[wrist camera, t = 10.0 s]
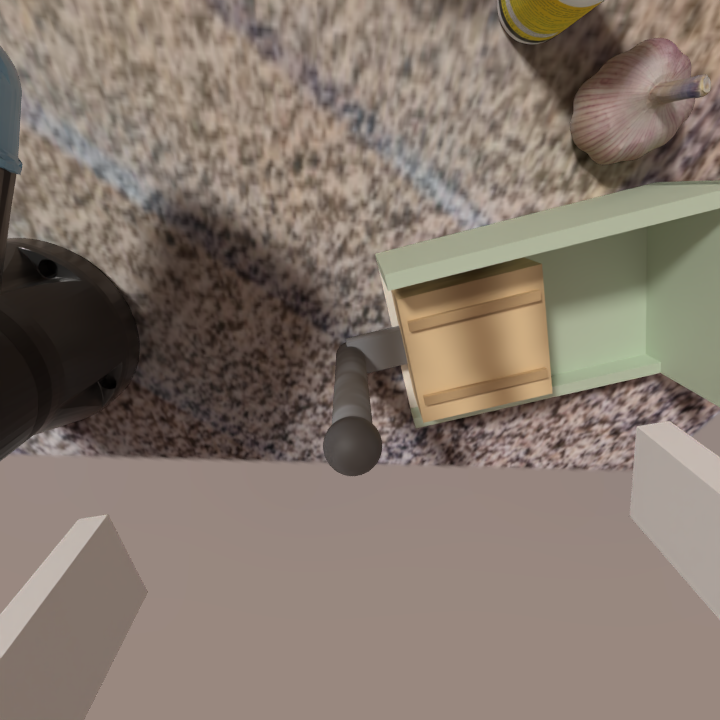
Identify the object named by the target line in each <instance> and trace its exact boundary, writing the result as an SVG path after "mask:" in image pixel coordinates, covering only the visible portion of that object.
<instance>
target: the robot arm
mask: <svg viewBox="0 0 720 720" xmlns="http://www.w3.org/2000/svg"><path fill="white" fill-rule="evenodd" d="M21 96H22V90H21V83H20V79H19V76H18V73H17V71H16V68H15V66H14V64H13V63H12V61H11V59H10V58H9V56H8V55H7V54H6V52H5V51H4V50H3V48H2V47H1V46H0V461H1V460H2V459H3V458H5V457H6V456H7V455H9V454H10V453H11V452H13V451H14V450H15V449H16V448H18V447H19V446H20V445H21V444H23V443H24V442H25V441H26V440H28V439H29V438H30V437H32V436H33V435H36V434H39V433H42V432H45V431H48V430H51V429H55V428H58V427H61V426H64V425H67V424H70V423H73V422H76V421H79V420H82V419H85V418H87V417H89V416H91V415H93V414H95V413H97V412H99V411H100V410H102V409H103V408H104V407H106V406H107V405H108V404H109V403H110V402H112V401H113V400H114V399H115V398H116V397H117V396H118V395H119V394H120V393H121V392H122V391H123V390H124V389H125V388H126V387H127V385H128V384H129V383H130V381H131V379H132V377H133V375H134V373H135V370H136V367H137V363H138V358H139V337H138V331H137V327H136V323H135V321H134V318H133V315H132V313H131V311H130V309H129V307H128V305H127V303H126V301H125V300H124V298H123V296H122V295H121V293H120V292H119V291H118V289H117V288H116V287H115V286H114V284H113V283H112V282H111V281H110V280H109V279H108V278H107V277H106V276H105V275H104V274H103V273H102V272H101V271H100V270H99V269H97V268H96V267H95V266H94V265H92V264H91V263H90V262H88V261H87V260H85V259H84V258H82V257H80V256H79V255H77V254H75V253H73V252H71V251H69V250H67V249H65V248H63V247H60V246H57V245H55V244H52V243H48V242H44V241H40V240H35V239H26V238H9V239H7V236H8V228H9V220H10V212H11V206H12V199H13V193H14V186H15V180H16V174H20V175H21V170H22V163H21V161H20V160H19V158H18V149H19V131H20V113H21ZM630 517H631V518H632V519H633V521H634V522H635V523H636V524H637V525H638V526H639V528H640V529H641V530H642V531H643V532H644V533H645V535H646V536H647V537H648V538H649V539H650V540H651V541H652V542H653V544H654V545H655V546H656V547H657V548H658V550H659V551H660V552H661V553H662V554H663V555H664V556H665V558H666V559H667V560H668V561H669V562H670V563H671V564H672V566H673V567H674V568H675V569H676V570H677V571H678V572H679V574H680V575H681V576H682V577H683V578H684V579H685V581H686V582H687V583H688V584H689V585H690V586H691V587H692V589H693V590H694V591H695V592H696V593H697V594H698V595H699V597H700V598H701V599H702V600H703V601H704V602H705V604H706V605H707V606H708V607H709V608H710V609H711V611H712V612H713V613H714V614H715V615H716V616H717V617H718V619H719V620H720V457H719V456H717V455H716V454H714V453H713V452H712V451H710V450H709V449H708V448H706V447H705V446H703V445H702V444H701V443H699V442H698V441H696V440H695V439H694V438H692V437H691V436H689V435H688V434H687V433H685V432H684V431H682V430H681V429H680V428H678V427H677V426H675V425H674V424H673V423H671V422H670V421H667V422H661V423H655V424H649V425H643V426H637V429H636V441H635V454H634V467H633V479H632V492H631V505H630ZM147 592H148V591H147V589H146V587H145V586H144V584H143V582H142V580H141V578H140V576H139V574H138V572H137V570H136V568H135V566H134V564H133V562H132V560H131V558H130V557H129V555H128V553H127V551H126V549H125V547H124V545H123V543H122V541H121V539H120V537H119V535H118V533H117V532H116V529H115V527H114V526H113V523H112V522H111V520H110V518H109V516H108V514H107V515H101V516H95V517H89V518H83V519H78V521H77V522H76V523H75V524H74V525H73V527H72V528H71V529H70V530H69V531H68V533H67V534H66V535H65V536H64V538H63V539H62V540H61V541H60V543H59V544H58V545H57V546H56V547H55V549H54V550H53V551H52V552H51V553H50V555H49V556H48V557H47V558H46V560H45V561H44V562H43V563H42V564H41V566H40V567H39V568H38V569H37V570H36V572H35V573H34V574H33V575H32V577H31V578H30V579H29V580H28V582H27V583H26V584H25V585H24V586H23V588H22V589H21V590H20V591H19V592H18V594H17V595H16V596H15V597H14V598H13V600H12V601H11V602H10V603H9V605H8V606H7V607H6V608H5V609H4V611H3V612H2V613H1V614H0V720H84V719H85V717H86V715H87V713H88V711H89V709H90V707H91V705H92V703H93V701H94V699H95V697H96V695H97V693H98V691H99V689H100V687H101V685H102V683H103V681H104V679H105V677H106V675H107V673H108V671H109V669H110V667H111V665H112V662H113V661H114V659H115V657H116V655H117V653H118V651H119V649H120V647H121V645H122V643H123V641H124V639H125V637H126V635H127V633H128V631H129V629H130V627H131V625H132V623H133V621H134V619H135V617H136V615H137V613H138V610H139V609H140V607H141V605H142V603H143V601H144V599H145V597H146V595H147Z"/></svg>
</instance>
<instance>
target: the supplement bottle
mask: <svg viewBox="0 0 720 720" xmlns="http://www.w3.org/2000/svg"><path fill="white" fill-rule="evenodd" d="M603 1H604V0H497V10H498V16H499V19H500V22H501V24H502V26H503V28H504V29H505V31H506V32H507V33H508V34H509V35H510V36H511V37H512V38H513V39H515V40H516V41H518V42H521V43H524V44H539V43H543V42H546V41H548V40H550V39H552V38H554V37H555V36H557V35H558V34H560V33H561V32H562V31H564V30H565V29H566V28H568V27H569V26H570V25H572V24H573V23H575V22H576V21H577V20H578V19H580V18H581V17H583V16H584V15H585V14H587V13H588V12H589V11H590V10H592V9H593V8H595V7H596V6H597V5H599V4H600V3H602V2H603Z"/></svg>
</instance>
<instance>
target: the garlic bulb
mask: <svg viewBox="0 0 720 720" xmlns="http://www.w3.org/2000/svg"><path fill="white" fill-rule="evenodd" d="M710 89H711V82H710V78H709V77H708V75H699V76H694V77H691V62H690V59H689V58H688V56H686V55H685V54H683V53H682V52H681V51H680V50H679V49H678V47H677V46H676V44H674V43H673V42H672V41H670V40H668V39H664V38H654V39H649V40H645V41H643V42H641V43H639V44H637V45H636V46H635V47H634V48H632V49H631V50H629V51H627V52H625V53H622V54H619V55H616V56H614V57H613V58H611V59H610V60H608V61H607V62H606V63H605V64H604V65H603V66H602V67H601V68H600V70H599V71H598V72H597V73H596V74H595V75H594V76H593V77H591V78H590V79H589V80H587V81H586V82H585V83H584V84H583V85H582V86H581V87H580V89H579V90H578V92H577V93H576V96H575V98H574V102H573V107H574V110H573V116H572V119H571V123H570V131H571V134H572V138H573V141H574V143H575V144H576V146H577V147H578V148H579V149H580V150H583V151H585V152H586V153H588V154H589V156H590V158H591V159H592V160H593V161H594V162H596V163H598V164H603V165H609V164H613V163H616V162H619V161H631V160H635V159H638V158H640V157H642V156H643V155H645V154H646V153H647V152H649V151H650V150H652V149H655V148H658V147H660V146H662V145H664V144H666V143H667V142H668V141H669V140H670V139H671V138H672V137H673V136H674V135H675V133H676V132H677V130H678V128H679V127H680V125H681V124H682V123H683V122H684V121H685V120H686V119H687V118H688V117H689V115H690V114H691V112H692V110H693V107H694V103H695V98H699V97H702V96H705V95H707V94H708V93H709V91H710Z"/></svg>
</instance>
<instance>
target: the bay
mask: <svg viewBox="0 0 720 720" xmlns="http://www.w3.org/2000/svg"><path fill="white" fill-rule="evenodd" d="M375 256H376V260H377V265H378V269H379V273H380V278H381V282H382V286H383V291H384V295H385V300H386V304H387V308H388V313H389V317H390V321H391V326H392V327H396V326H399V324H398V320H397V315H396V311H395V306H394V302H393V297H392V293H391V290H394V289H398V288H402V287H406V286H410V285H414V284H418V283H422V282H426V281H430V280H434V279H438V278H442V277H446V276H450V275H454V274H458V273H462V272H466V271H470V270H474V269H478V268H482V267H486V266H490V265H494V264H498V263H502V262H506V261H510V260H514V259H518V258H522V257H525V258H527V259H530V260H533V261H535V262H538V263H541V264H542V270H543V282H544V294H545V307H546V319H547V331H548V343H549V356H550V368H551V380H552V394H548V395H543V396H539V397H535V398H530V399H526V400H521V401H517V402H513V403H508V404H504V405H500V406H495V407H491V408H486V409H482V410H478V411H473V412H469V413H464V414H460V415H456V416H451V417H447V418H443V419H438V420H434V421H429V422H425V423H423V420H422V417H421V414H420V411H419V408H418V405H417V402H416V399H415V396H414V392H413V388H412V383H411V379H410V374H409V370H408V365H407V364H404V365H401V370H402V374H403V378H404V383H405V387H406V391H407V396H408V400H409V405H410V409H411V413H412V417H413V420H414V424H415V427H416V428H420V427H425V426H429V425H433V424H438V423H442V422H447V421H451V420H455V419H460V418H464V417H469V416H473V415H477V414H482V413H486V412H491V411H495V410H499V409H504V408H508V407H513V406H517V405H521V404H526V403H530V402H535V401H539V400H543V399H548V398H552V397H557V396H561V395H565V394H570V393H574V392H579V391H583V390H587V389H592V388H596V387H601V386H605V385H609V384H614V383H618V382H622V381H627V380H631V379H636V378H640V377H644V376H649V375H653V374H658V373H662V374H663V375H665V376H667V377H668V378H670V379H672V380H674V381H675V382H677V383H679V384H681V385H682V386H684V387H686V388H687V389H689V390H691V391H693V392H694V393H696V394H698V395H699V396H701V397H703V398H705V399H706V400H708V401H710V402H712V403H713V404H715V405H717V406H718V407H720V180H715V181H680V182H655V183H651V184H647V185H643V186H639V187H635V188H631V189H627V190H623V191H619V192H616V193H612V194H608V195H604V196H600V197H596V198H592V199H588V200H584V201H580V202H576V203H573V204H569V205H565V206H561V207H557V208H553V209H549V210H545V211H541V212H537V213H533V214H530V215H526V216H522V217H518V218H514V219H510V220H506V221H502V222H498V223H494V224H490V225H487V226H483V227H479V228H475V229H471V230H467V231H463V232H459V233H455V234H451V235H447V236H444V237H440V238H436V239H432V240H428V241H424V242H420V243H416V244H412V245H408V246H404V247H401V248H397V249H393V250H389V251H385V252H381V253H377V254H375Z"/></svg>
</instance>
